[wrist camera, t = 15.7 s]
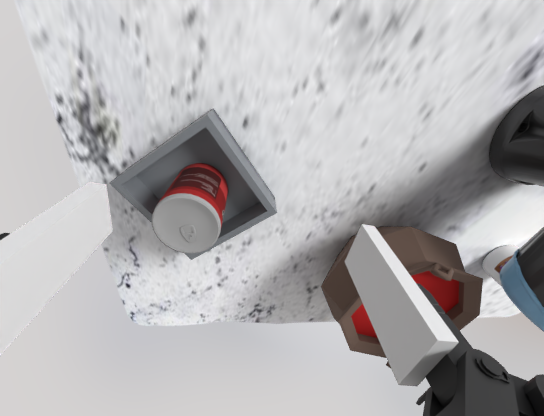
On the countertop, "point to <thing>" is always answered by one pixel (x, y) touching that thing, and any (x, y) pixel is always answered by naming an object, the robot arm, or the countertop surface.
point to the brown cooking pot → (423, 269)
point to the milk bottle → (498, 260)
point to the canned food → (192, 209)
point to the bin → (209, 150)
